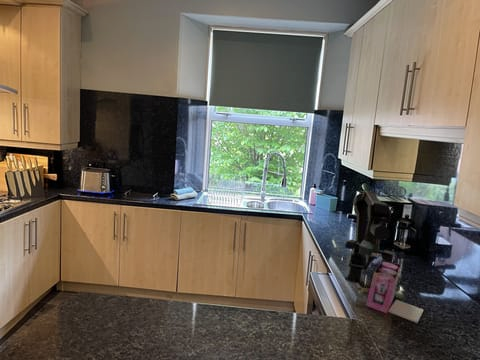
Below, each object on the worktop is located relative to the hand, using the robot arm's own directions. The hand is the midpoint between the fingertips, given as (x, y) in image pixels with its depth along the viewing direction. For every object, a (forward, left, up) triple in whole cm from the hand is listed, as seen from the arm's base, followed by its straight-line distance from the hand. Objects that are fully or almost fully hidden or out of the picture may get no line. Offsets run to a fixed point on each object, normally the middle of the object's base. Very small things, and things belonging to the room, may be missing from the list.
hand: (365, 270), depth 148 cm
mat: (+2, +18, -10) cm, 20 cm away
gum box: (0, +8, -10) cm, 13 cm away
